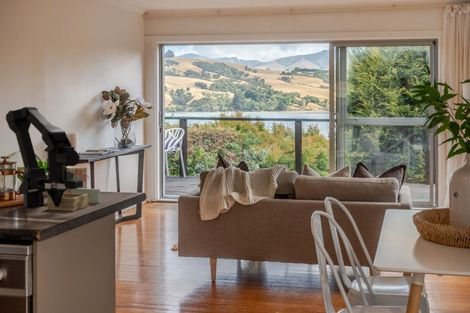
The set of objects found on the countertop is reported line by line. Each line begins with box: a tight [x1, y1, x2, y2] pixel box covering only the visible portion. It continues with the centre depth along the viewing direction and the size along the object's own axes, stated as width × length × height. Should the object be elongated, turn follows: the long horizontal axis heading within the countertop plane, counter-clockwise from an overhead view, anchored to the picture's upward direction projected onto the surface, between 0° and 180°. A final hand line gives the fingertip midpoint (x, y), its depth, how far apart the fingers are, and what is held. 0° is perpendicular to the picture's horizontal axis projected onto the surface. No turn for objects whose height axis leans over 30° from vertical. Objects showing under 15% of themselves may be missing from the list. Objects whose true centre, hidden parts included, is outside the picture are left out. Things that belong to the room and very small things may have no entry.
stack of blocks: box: [42, 165, 88, 196], centre depth 254 cm, size 21×6×12 cm, turn 86°
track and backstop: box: [71, 187, 101, 204], centre depth 219 cm, size 19×12×6 cm, turn 164°
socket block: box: [46, 193, 90, 211], centre depth 215 cm, size 11×11×4 cm
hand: (57, 206), depth 208 cm, fingers closed
